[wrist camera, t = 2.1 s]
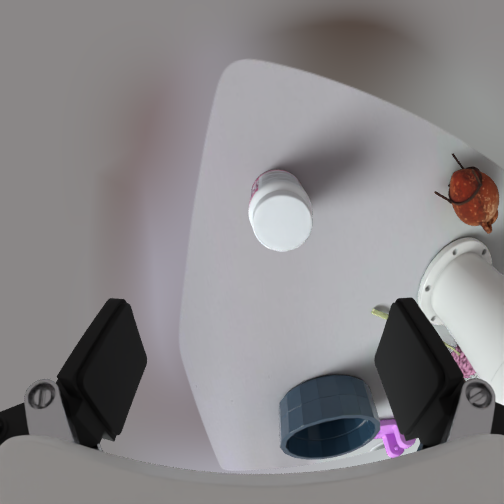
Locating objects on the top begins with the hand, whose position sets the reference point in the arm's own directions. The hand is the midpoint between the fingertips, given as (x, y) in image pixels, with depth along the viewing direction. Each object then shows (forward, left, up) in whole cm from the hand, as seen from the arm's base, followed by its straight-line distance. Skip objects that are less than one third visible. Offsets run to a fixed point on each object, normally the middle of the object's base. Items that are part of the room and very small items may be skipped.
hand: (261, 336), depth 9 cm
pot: (-10, +32, -19) cm, 38 cm away
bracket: (-23, +44, -19) cm, 53 cm away
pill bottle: (-1, 0, -19) cm, 19 cm away
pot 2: (-22, -3, -12) cm, 25 cm away
